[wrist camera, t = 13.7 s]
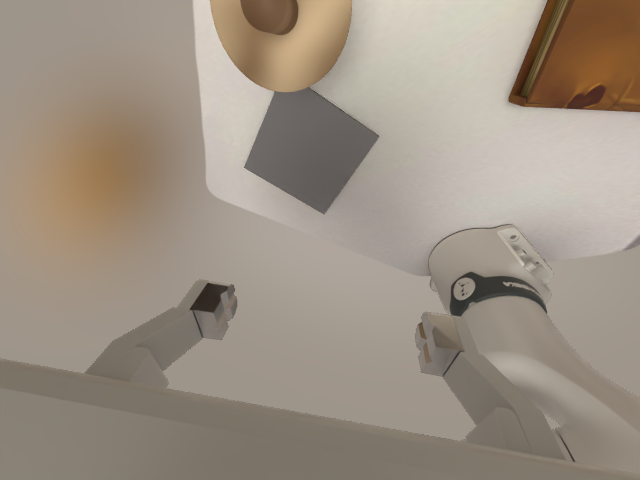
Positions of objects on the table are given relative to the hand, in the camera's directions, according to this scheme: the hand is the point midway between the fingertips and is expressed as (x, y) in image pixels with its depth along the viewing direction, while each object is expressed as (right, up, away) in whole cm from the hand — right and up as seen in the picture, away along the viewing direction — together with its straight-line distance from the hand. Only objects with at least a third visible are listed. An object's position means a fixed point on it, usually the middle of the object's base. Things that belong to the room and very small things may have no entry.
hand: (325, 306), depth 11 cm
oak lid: (-3, +21, +9) cm, 23 cm away
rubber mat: (-2, +17, +31) cm, 35 cm away
